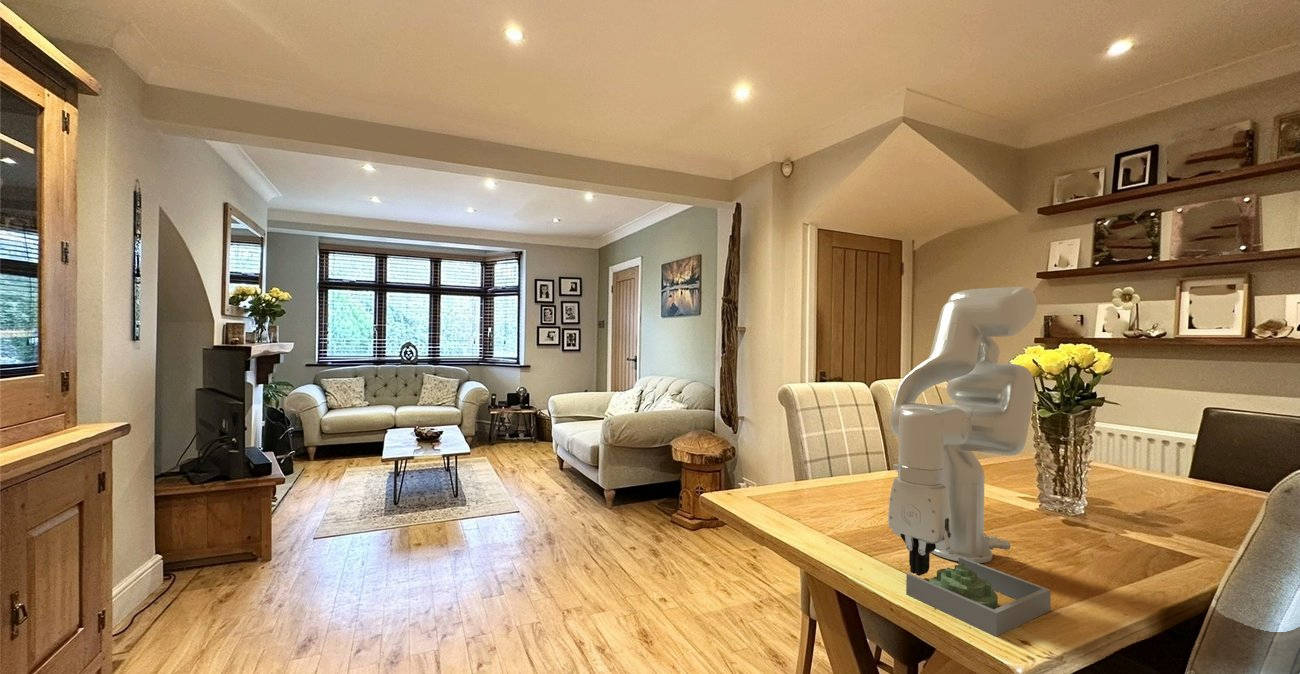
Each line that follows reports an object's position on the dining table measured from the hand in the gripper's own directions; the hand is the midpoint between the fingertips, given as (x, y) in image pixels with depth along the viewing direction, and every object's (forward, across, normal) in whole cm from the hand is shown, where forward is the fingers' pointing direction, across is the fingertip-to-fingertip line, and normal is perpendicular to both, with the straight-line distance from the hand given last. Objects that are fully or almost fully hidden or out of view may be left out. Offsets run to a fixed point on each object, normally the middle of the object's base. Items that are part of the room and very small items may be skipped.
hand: (919, 572), depth 97 cm
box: (+1, +10, 0) cm, 10 cm away
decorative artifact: (+2, +9, -2) cm, 10 cm away
